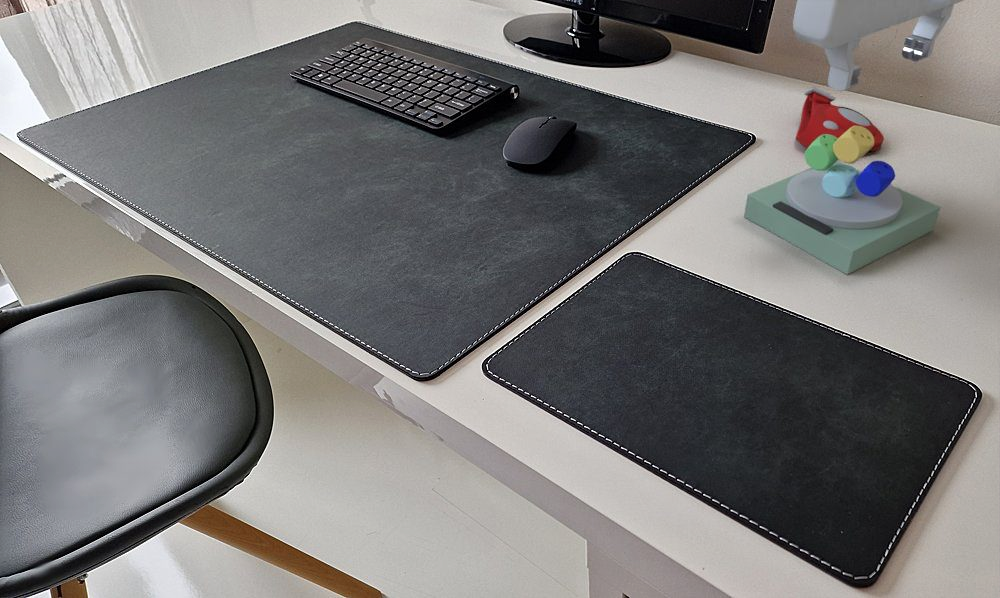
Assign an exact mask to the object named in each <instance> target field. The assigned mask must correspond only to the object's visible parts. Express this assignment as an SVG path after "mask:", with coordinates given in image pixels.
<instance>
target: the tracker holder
mask: <svg viewBox="0 0 1000 598" xmlns="http://www.w3.org/2000/svg"><path fill="white" fill-rule="evenodd" d="M804 95H805V96H806V98H805V101H804V102H803V106H802V111H801V118H800V124H799V127H798V129H797V133H796V136H795V140H796V141H797V142H799V143H800V144H801V145H802V146H803V147H805V148H806V149H808V147H809V146H810V145H811V144H812V143H813V142H814V141H815V140H816V139H817V138H818V137H819V136H821V135H823V134H829V135H833V136H835V137H837V138H839V137H840V136H841V135H843V134H844V133H845V132H846V131H847V130H848V129H850V128H851V127H852V126H862V127H864V128H866V129H867V130H869V131H870V132H871V134H872V135H873V137H874V146H873V147H872V148H871V149H870V150H869V151H871V152H873V151H876V150H879V149H880V147H881V146H882V144H883V142H884V135H883V134H882V132H881V131H880V129H878V127H876V126H875V125H874V124H873V122H872V120H870V119H869V118H868V117H867V116H865V115H864V114H862V113H861V112H859V111H857V110H854V109H852V108H849V107H846V106H840V105H835V104H832V102H834V101H835V100H836V97H835V96H834V95H832V94H831V93H828V92H826V91H824V90H822V89H819V88H817V87H815V86H813V87H811V88H809V89H808V90H806V91H804ZM869 151H868V152H869Z"/></svg>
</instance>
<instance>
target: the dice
mask: <svg viewBox="0 0 1000 598" xmlns="http://www.w3.org/2000/svg"><path fill="white" fill-rule="evenodd" d="M873 146H874V137H873V135H872V134H871V132H870V131H869V130H867V129H866V128H864V127H862V126H852V127H851V128H850V129H848V130H847V131H846V132H845V133H844V134H843V135H841V136H840V137H839V138H837V137H835V136H833V135H829V134H823V135H821V136H819V137H818V138H817V139H816V140H815V141H814V142H813V143H812V144H811V145H810V146H809V147H808V148H806V150H805V152H804V159H805V162H806V164H807V165H808V166H809V168H813V169H815V170H818V171H826V170H828V169H829V168H830V167H831V166H832V165H833V164H834V163H835V162H836V161H838V160H839V161H840V162H841V163H843V164H845V165H843V164H840V165H835V166H832V167H831V168H830V169H829V170H828V171H827V172H826V174H825V176H824V178H823V181H822V187H823V189H824V191H825V192H826V193H827V194H829V195H830V196H833V197H838V198H843V197H848V196H850V195H852V194H853V193H854V191H855V190H856V188H858V190H859V191H860V192H861V193H862V194H864V195H866V196H870V197H876V196H879V195H880V194H881V193H882V192H883V191H884V190H885V189H886V188H887V187H888V186H889V185H890V184H892V182H893V181H894V180H895V178H896V173H895V170H894V167H893V166H891V165H890V164H889V163H887V162H885V161H883V160H873V161H871V162H870V163H869V164H868V165H867V166H865V167H864V168H863V170H862V171H861V173H859V172H858V171H859V170H858V169H857V168H855V167H854V166H852V165H853V164H855V163H856V162H858V161H859V160H860V159H862V158H863V157H864V156H865V155H866V154H867V153H869V150H870V149H871V148H872V147H873ZM849 164H850V165H849ZM851 164H852V165H851Z"/></svg>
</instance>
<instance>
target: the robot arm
mask: <svg viewBox="0 0 1000 598" xmlns="http://www.w3.org/2000/svg"><path fill="white" fill-rule="evenodd" d="M964 1H965V0H797V1H796V6H795V8H794V9H795V10H794V15H793V20H792V28H793V31H794V33H795V36H796V38H797V39H798V40H800V41H802V42H805V43H808V44H811V45H814V46H817V47H821V48H823V49H824V52H825V55H826V58H827V61H828V64H829V66H830V68H829V72H828V78H827V85H828V86H829V88H831V89H833V90H836V91H839V92H844V91H847V90H849V89H852V88H854V87H856V86H857V85H858V83H859V76H861V75H860V74H861V70H862V67H861V66H860V65H858V64H855V58H854V52H855V51H858V49H859V48H860V47H859V46H860V42H861V38H865V37H867V36H870V35H873V34H876V33H879V32H881V31H883V30H887V29H890V28H892V27H895V26H899V25H900V24H903V23H906V22H909V21H913V20H914V19H917V22H916V25H915V27H914V29H913V31H912V33H911V34H910V35H908V36H906V37H905V39H904V44H903V46H904V47H903V49H902V52H901V55H902V57H903V58H904V59H905V60H910V61H912V62H916V63H917V62H920V61H922V60H924V59H927V58H930V57H931V56H932V53H933V49H934V47H935V46H934V45H935V41H936V38H938V36H939V35H940V33H941V32H942V30H943V29H944V27H945V25H946V24H947V22H948V20H949V19H950V18H951V16H952V12H953V9H954V6H955V5H956V4H958V3H962V2H964Z"/></svg>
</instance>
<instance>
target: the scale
mask: <svg viewBox="0 0 1000 598" xmlns="http://www.w3.org/2000/svg"><path fill="white" fill-rule="evenodd" d="M840 164H843V165H846V163H844V162H842V161H838V160H837V161H836V162H835V163H834V164H833V165H832V166H835V165H840ZM832 166H831V167H832ZM831 167H830V168H831ZM830 168H829V169H830ZM829 169H828V170H829ZM828 170H826V171H818V170H815V169H813V168H811V167H809V168H807V169H805V170H802V171H800V172H797V173H795V174H793V175H790V176H789V177H786V178H784V179H781V180H779V181H776V182H774V183H771V184H770V185H766V186H765V187H762V188H759V189H757V190H755V191H753V192H750V193H748V194H747V197H746V202H745V209H744V215H743V217H744V218H745V219H747V220H749V221H751V222H753V223H754V224H756V225H757V226H760V227H761V228H763V229H765V230H767V231H768V232H770V233H772V234H774V235H776V236H777V237H779V238H780V239H783V240H785V241H786V242H788V243H790V244H792V245H793V246H795V247H797V248H799V249H800V250H802V251H804V252H806V253H808V254H809V255H811V256H813V257H815V258H817V259H818V260H820V261H822V262H824V263H826V264H827V265H829V266H831V267H833V268H834V269H836V270H838V271H840V272H842V273H843V274H845V275H850V274H851V273H853V272H855V271H857V270H859V269H861V268H864V267H865V266H866V265H869V264H870V263H872V262H874V261H877V260H878V259H880V258H882V257H884V256H886V255H888V254H890V253H892V252H894V251H896V250H898V249H900V248H902V247H904V246H905V245H907V244H909V243H911V242H914V241H915V240H917V239H919V238H922V237H923V236H925V235H927V234H929V233H931V232H932V231H934V228H935V227H936V226H935V225H936V222H937V220H938V216H939V213H940V211H941V207H940V206H939V205H937V204H935V203H932V202H929V201H928V200H925V199H923V198H921V197H919V196H916V195H914V194H912V193H910V192H908V191H905V190H903V189H901V188H899V187H896V186H894V185H893V184H892V183H890V185H889V186H888V187H887V188H886V189H885V190H884V191H883V192H882V193H881V194H880V195H879V196H876V197H870V196H866V195H864V194H862V193H861V192H860V191H859V190H858V188H856V190H855V191H854V193H853V194H852V195H850V196H848V197H843V198H838V197H833V196H830V195H829V194H827V193H826V192H825V191H824V189H823V187H822V181H823V178H824V176H825V174H826V172H827V171H828ZM858 172H859V173H861V172H862V171H860V170H858Z"/></svg>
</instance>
